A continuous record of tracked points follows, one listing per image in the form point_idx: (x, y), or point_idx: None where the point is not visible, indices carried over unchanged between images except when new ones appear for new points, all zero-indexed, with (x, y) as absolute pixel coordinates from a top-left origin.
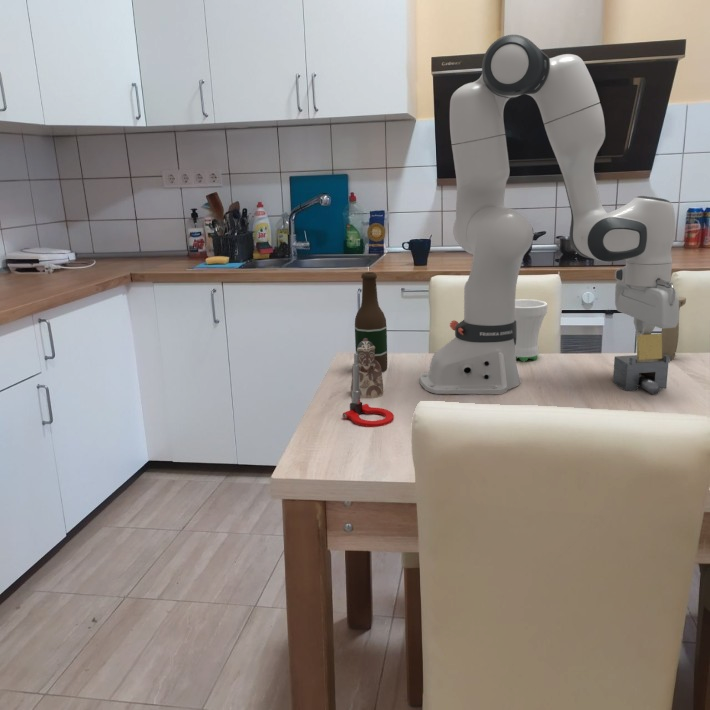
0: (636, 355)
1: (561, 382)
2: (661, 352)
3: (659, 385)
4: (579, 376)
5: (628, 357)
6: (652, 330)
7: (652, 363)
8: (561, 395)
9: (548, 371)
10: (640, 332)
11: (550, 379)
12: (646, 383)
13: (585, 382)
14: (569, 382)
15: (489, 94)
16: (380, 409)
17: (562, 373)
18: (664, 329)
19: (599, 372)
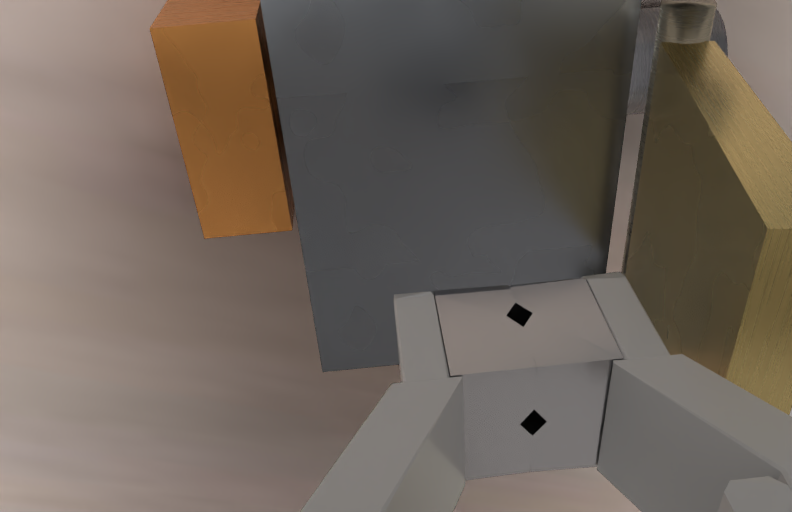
0: (299, 172)
1: (294, 472)
2: (735, 78)
3: (720, 25)
4: (159, 372)
5: (375, 274)
6: (750, 400)
7: (621, 107)
8: (523, 505)
9: (52, 492)
10: (552, 468)
11: (231, 505)
12: (634, 113)
13: (303, 370)
14: (297, 441)
15: None
16: None
17: (91, 440)
18: None
19: (31, 232)
